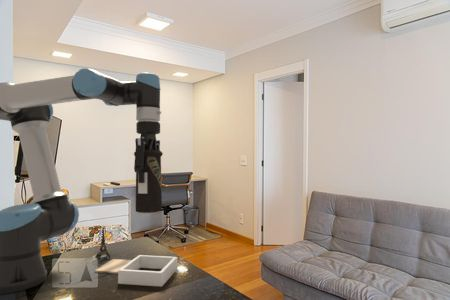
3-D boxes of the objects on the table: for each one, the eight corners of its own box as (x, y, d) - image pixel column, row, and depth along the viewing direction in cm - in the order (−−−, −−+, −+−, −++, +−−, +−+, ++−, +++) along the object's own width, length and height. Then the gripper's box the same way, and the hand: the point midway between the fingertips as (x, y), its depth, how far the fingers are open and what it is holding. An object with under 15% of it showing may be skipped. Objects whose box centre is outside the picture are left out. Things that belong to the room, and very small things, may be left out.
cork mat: (94, 272, 99) (94, 270, 99) (112, 260, 109) (112, 259, 110) (125, 274, 97) (125, 272, 97) (140, 262, 108) (140, 260, 108)
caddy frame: (118, 283, 90) (118, 270, 90) (139, 266, 103) (139, 255, 104) (161, 286, 87) (161, 272, 87) (177, 268, 101) (177, 256, 101)
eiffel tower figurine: (103, 251, 122) (103, 219, 122) (125, 253, 119) (125, 220, 120) (77, 264, 107) (77, 228, 108) (101, 267, 105) (101, 229, 105)
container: (155, 213, 91) (155, 148, 91) (129, 213, 92) (129, 149, 93) (166, 208, 99) (166, 149, 99) (142, 208, 101) (142, 149, 101)
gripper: (145, 117, 86) (145, 196, 85) (170, 124, 106) (170, 188, 105) (121, 118, 87) (121, 195, 86) (150, 125, 107) (151, 188, 107)
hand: (148, 191), depth 96 cm, fingers closed on container, 8 cm apart
